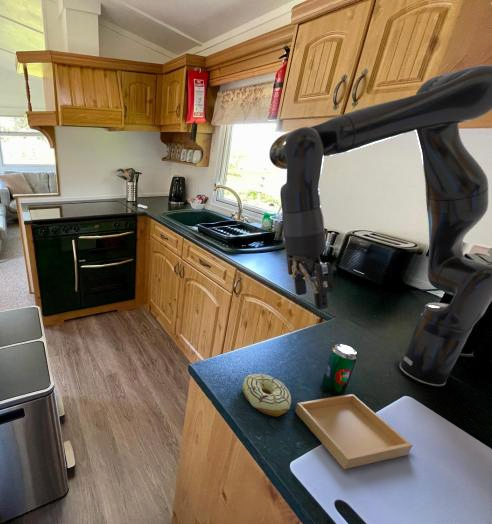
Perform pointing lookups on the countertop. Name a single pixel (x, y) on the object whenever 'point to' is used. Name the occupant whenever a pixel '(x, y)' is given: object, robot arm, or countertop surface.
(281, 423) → the countertop surface
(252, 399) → the decorated donut
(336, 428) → the serving tray
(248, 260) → the countertop surface
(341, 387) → the soda can
